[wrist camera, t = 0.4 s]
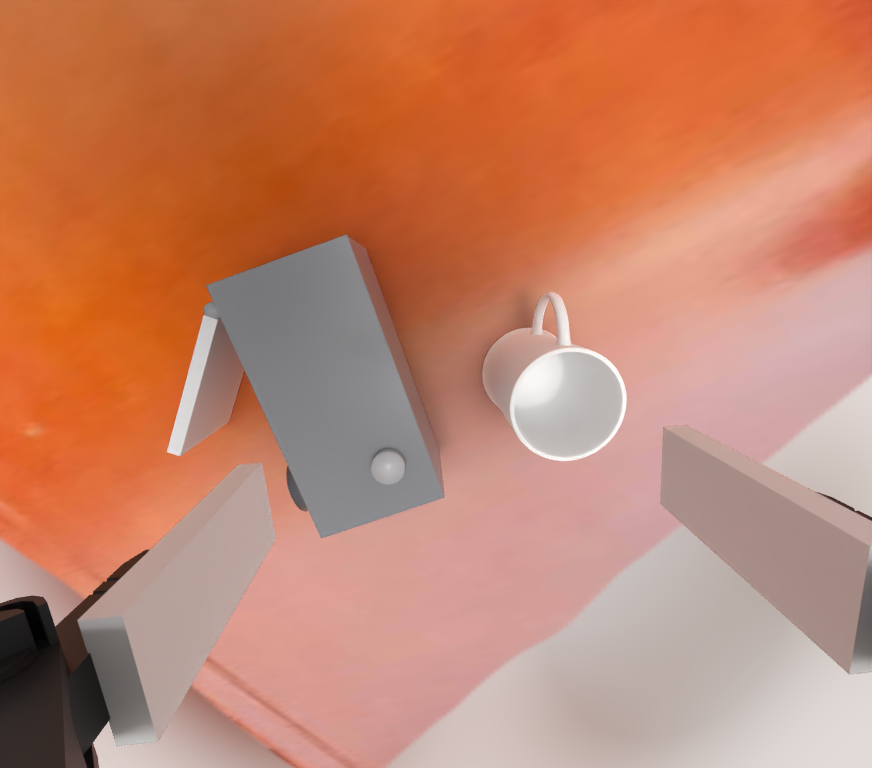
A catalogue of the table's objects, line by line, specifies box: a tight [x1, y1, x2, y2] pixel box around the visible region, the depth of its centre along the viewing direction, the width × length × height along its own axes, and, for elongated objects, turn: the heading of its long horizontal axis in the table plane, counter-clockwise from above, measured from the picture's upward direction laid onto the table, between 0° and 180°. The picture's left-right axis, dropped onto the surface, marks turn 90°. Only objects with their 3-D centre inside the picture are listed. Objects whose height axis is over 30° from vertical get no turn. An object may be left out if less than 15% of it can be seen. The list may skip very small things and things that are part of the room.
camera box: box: [206, 235, 444, 538], centre depth 35 cm, size 20×12×11 cm, turn 19°
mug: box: [482, 292, 626, 461], centre depth 35 cm, size 12×8×12 cm
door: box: [167, 302, 244, 456], centre depth 35 cm, size 12×2×8 cm, turn 159°
